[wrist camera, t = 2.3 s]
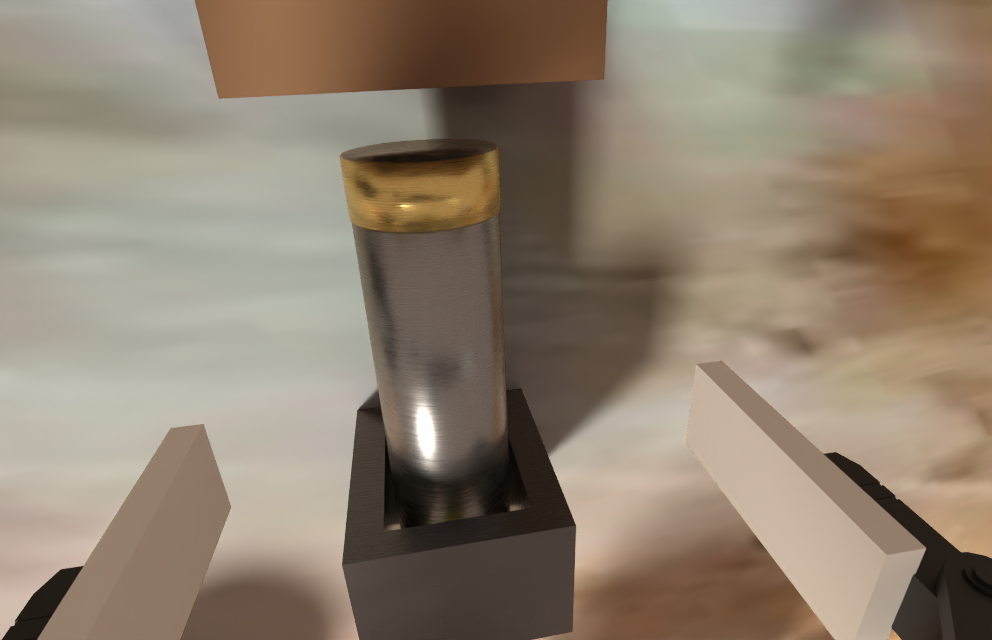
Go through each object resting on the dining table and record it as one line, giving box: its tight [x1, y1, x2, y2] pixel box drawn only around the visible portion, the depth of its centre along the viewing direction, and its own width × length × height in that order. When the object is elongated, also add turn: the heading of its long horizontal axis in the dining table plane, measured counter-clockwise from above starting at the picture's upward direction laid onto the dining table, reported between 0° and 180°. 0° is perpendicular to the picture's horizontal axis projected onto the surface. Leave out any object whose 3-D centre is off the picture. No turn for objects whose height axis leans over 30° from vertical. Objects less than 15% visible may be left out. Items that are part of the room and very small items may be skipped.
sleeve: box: [342, 389, 576, 640], centre depth 25 cm, size 8×6×9 cm
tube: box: [340, 139, 510, 529], centre depth 22 cm, size 20×5×5 cm, turn 2°
